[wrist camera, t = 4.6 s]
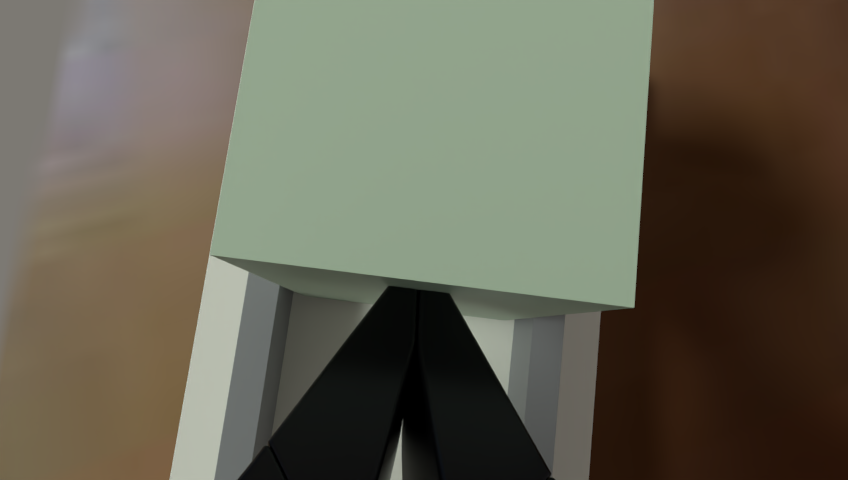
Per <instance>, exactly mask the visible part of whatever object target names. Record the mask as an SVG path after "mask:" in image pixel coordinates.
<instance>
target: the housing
mask: <svg viewBox="0 0 848 480" xmlns="http://www.w3.org/2000/svg"><path fill="white" fill-rule="evenodd" d="M254 2H255V1H254ZM253 8H254V6H253ZM252 14H253V12H252ZM251 19H252V17H251ZM250 25H251V23H250ZM249 31H250V29H249ZM248 36H249V34H248ZM247 42H248V40H247ZM246 48H247V46H246ZM245 53H246V51H245ZM244 59H245V57H244ZM243 65H244V63H243ZM242 70H243V68H242ZM241 76H242V74H241ZM240 82H241V80H240ZM239 87H240V85H239ZM238 93H239V91H238ZM237 98H238V96H237ZM236 104H237V102H236ZM235 110H236V108H235ZM234 115H235V113H234ZM233 121H234V119H233ZM232 127H233V125H232ZM231 132H232V130H231ZM230 138H231V136H230ZM229 144H230V142H229ZM228 149H229V147H228ZM227 155H228V153H227ZM226 161H227V159H226ZM225 166H226V164H225ZM224 172H225V170H224ZM223 178H224V176H223ZM222 183H223V181H222ZM221 189H222V187H221ZM220 194H221V192H220ZM219 200H220V198H219ZM218 206H219V204H218ZM217 211H218V209H217ZM216 217H217V215H216ZM215 223H216V221H215ZM214 228H215V226H214ZM213 234H214V232H213ZM212 240H213V238H212ZM211 245H212V243H211ZM210 251H211V249H210ZM372 306H373V304H366V303H358V302H349V301H341V300H333V299H325V298H317V297H309V296H303V295H301V294H298V293H296V292H294V291H292V290H289V289H287V288H285V287H282V286H280V285H278V284H275V283H273V282H271V281H269V280H266V279H264V278H262V277H259V276H257V275H255V274H252V273H250V272H248V271H246V270H243V269H241V268H239V267H236V266H234V265H232V264H229V263H227V262H225V261H223V260H220V259H218V258H216V257H213V256H211V255H209V260H208V266H207V271H206V277H205V283H204V288H203V294H202V300H201V305H200V311H199V317H198V322H197V328H196V334H195V339H194V345H193V350H192V356H191V362H190V367H189V373H188V379H187V384H186V390H185V396H184V401H183V407H182V413H181V418H180V424H179V429H178V435H177V441H176V446H175V452H174V458H173V463H172V469H171V475H170V480H237V479H238V478H239V477H240V475H241V474H242V473H243V472H244V471H245V469H246V468H247V467H248V465H249V464H250V463H251V462H252V460H253V459H254V458H255V456H256V455H257V454H258V453H259V451H260V450H261V449H262V447H263V446H265V445H268V444H267V443H268V440H269V439H270V438H271V436H272V435H273V434H274V432H275V431H276V430H277V428H278V427H279V426H280V425H281V423H282V422H283V421H284V419H285V418H286V417H287V416H288V414H289V413H290V412H291V410H292V409H293V408H294V407H295V405H296V404H297V403H298V401H299V400H300V399H301V397H302V396H303V395H304V394H305V392H306V391H307V390H308V388H309V387H310V386H311V385H312V383H313V382H314V381H315V379H316V378H317V377H318V376H319V374H320V373H321V372H322V370H323V369H324V368H325V366H326V365H327V364H328V363H329V361H330V360H331V359H332V357H333V356H334V355H335V354H336V352H337V351H338V350H339V348H340V347H341V346H342V344H343V343H344V342H345V341H346V339H347V338H348V337H349V335H350V334H351V333H352V332H353V330H354V329H355V328H356V326H357V325H358V324H359V323H360V321H361V320H362V319H363V317H364V316H365V315H366V313H367V312H368V311H369V310H370V308H371V307H372ZM462 316H463V318H464V319H465V321H466V323H467V325H468V327H469V328H470V330H471V332H472V334H473V335H474V337H475V339H476V341H477V342H478V344H479V346H480V348H481V350H482V351H483V353H484V355H485V357H486V358H487V360H488V362H489V364H490V365H491V367H492V369H493V371H494V373H495V374H496V376H497V378H498V380H499V381H500V383H501V385H502V387H503V389H504V390H505V392H506V394H507V396H508V397H509V399H510V401H511V403H512V404H513V406H514V408H515V410H516V412H517V413H518V415H519V417H520V419H521V420H522V422H523V424H524V426H525V427H526V429H527V431H528V433H529V435H530V436H531V438H532V440H533V442H534V443H535V445H536V447H537V449H538V450H539V452H540V454H541V456H542V458H543V459H544V461H545V463H546V465H547V466H548V468H549V470H550V472H551V476H550V477H553V478H554V479H555V480H589V469H590V456H591V442H592V428H593V414H594V400H595V386H596V373H597V359H598V345H599V331H600V317H601V311H597V312H586V313H576V314H566V315H555V316H545V317H535V318H524V319H514V320H496V319H488V318H480V317H472V316H464V315H462ZM402 422H403V421H402ZM390 480H402V427H401V433H400V438H399V443H398V448H397V453H396V457H395V461H394V466H393V470H392V474H391V478H390Z"/></svg>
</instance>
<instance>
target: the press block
mask: <svg viewBox="0 0 848 480" xmlns="http://www.w3.org/2000/svg"><path fill="white" fill-rule="evenodd" d="M653 7H654V0H255V2H254V8H253V14H252V19H251V25H250V31H249V36H248V42H247V48H246V53H245V59H244V65H243V70H242V76H241V82H240V87H239V93H238V98H237V104H236V110H235V115H234V121H233V127H232V132H231V138H230V144H229V149H228V155H227V161H226V166H225V172H224V178H223V183H222V189H221V194H220V200H219V206H218V211H217V217H216V223H215V228H214V234H213V240H212V245H211V251H210V255H211V256H213V257H216V258H218V259H220V260H223V261H225V262H227V263H229V264H232V265H234V266H236V267H239V268H241V269H243V270H246V271H248V272H250V273H252V274H255V275H257V276H259V277H262V278H264V279H266V280H269V281H271V282H273V283H275V284H278V285H280V286H282V287H285V288H287V289H289V290H292V291H294V292H296V293H298V294H301V295H303V296H309V297H317V298H325V299H333V300H341V301H349V302H358V303H366V304H374V303H375V302H376V301H377V299H378V298H379V297H380V295H381V294H382V293H383V292H384V290H385V289H386V288H387V286H396V287H404V288H412V289H418V291H419V290H428V291H437V292H445V293H450V295H451V296H452V298H453V300H454V302H455V304H456V305H457V307H458V309H459V311H460V312H461V314H462V315H464V316H472V317H480V318H488V319H496V320H514V319H524V318H535V317H545V316H555V315H566V314H576V313H586V312H597V311H607V310H617V309H628V308H634V306H635V290H636V274H637V258H638V243H639V227H640V211H641V195H642V180H643V164H644V148H645V133H646V117H647V101H648V85H649V70H650V54H651V38H652V22H653Z"/></svg>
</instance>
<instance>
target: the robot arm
mask: <svg viewBox="0 0 848 480" xmlns="http://www.w3.org/2000/svg"><path fill="white" fill-rule="evenodd" d="M402 421H403V422H402ZM401 427H402V480H555V479H554V478H553V477H550V476H551V472H550V470H549V468H548V466H547V465H546V463H545V461H544V459H543V458H542V456H541V454H540V452H539V450H538V449H537V447H536V445H535V443H534V442H533V440H532V438H531V436H530V435H529V433H528V431H527V429H526V427H525V426H524V424H523V422H522V420H521V419H520V417H519V415H518V413H517V412H516V410H515V408H514V406H513V404H512V403H511V401H510V399H509V397H508V396H507V394H506V392H505V390H504V389H503V387H502V385H501V383H500V381H499V380H498V378H497V376H496V374H495V373H494V371H493V369H492V367H491V365H490V364H489V362H488V360H487V358H486V357H485V355H484V353H483V351H482V350H481V348H480V346H479V344H478V342H477V341H476V339H475V337H474V335H473V334H472V332H471V330H470V328H469V327H468V325H467V323H466V321H465V319H464V318H463V316H462V314H461V312H460V311H459V309H458V307H457V305H456V304H455V302H454V300H453V298H452V296H451V295H450V293H445V292H437V291H428V290H419V291H418V289H412V288H404V287H396V286H387V288H386V289H385V290H384V292H383V293H382V294H381V295H380V297H379V298H378V299H377V301H376V302H375V303H374V304H373V306H372V307H371V308H370V310H369V311H368V312H367V313H366V315H365V316H364V317H363V319H362V320H361V321H360V323H359V324H358V325H357V326H356V328H355V329H354V330H353V332H352V333H351V334H350V335H349V337H348V338H347V339H346V341H345V342H344V343H343V344H342V346H341V347H340V348H339V350H338V351H337V352H336V354H335V355H334V356H333V357H332V359H331V360H330V361H329V363H328V364H327V365H326V366H325V368H324V369H323V370H322V372H321V373H320V374H319V376H318V377H317V378H316V379H315V381H314V382H313V383H312V385H311V386H310V387H309V388H308V390H307V391H306V392H305V394H304V395H303V396H302V397H301V399H300V400H299V401H298V403H297V404H296V405H295V407H294V408H293V409H292V410H291V412H290V413H289V414H288V416H287V417H286V418H285V419H284V421H283V422H282V423H281V425H280V426H279V427H278V428H277V430H276V431H275V432H274V434H273V435H272V436H271V438H270V439H269V440H268V443H267V444H268V445H265V446H263V447H262V449H261V450H260V451H259V453H258V454H257V455H256V456H255V458H254V459H253V460H252V462H251V463H250V464H249V465H248V467H247V468H246V469H245V471H244V472H243V473H242V474H241V475H240V477H239V478H238V479H237V480H390V478H391V474H392V470H393V466H394V461H395V457H396V453H397V448H398V443H399V438H400V433H401Z"/></svg>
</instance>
